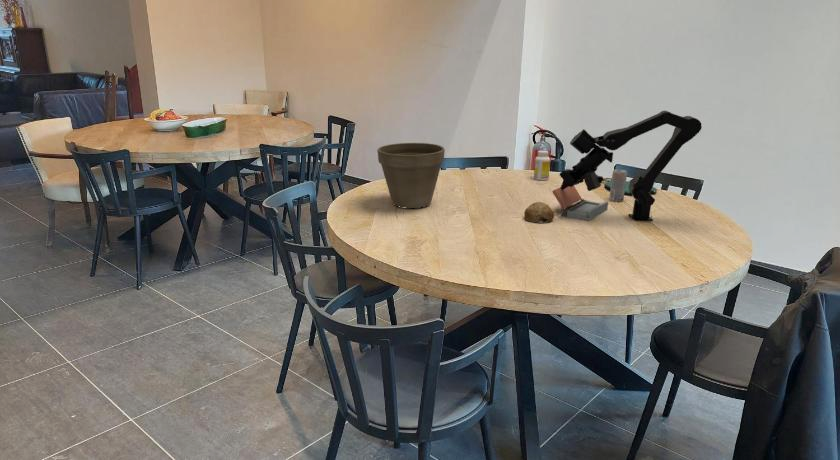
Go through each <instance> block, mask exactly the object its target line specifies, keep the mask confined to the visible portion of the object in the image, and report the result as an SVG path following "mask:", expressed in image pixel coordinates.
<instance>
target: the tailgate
mask: <svg viewBox="0 0 840 460" xmlns="http://www.w3.org/2000/svg"><path fill="white" fill-rule="evenodd" d="M551 192H552V194H553V196H554V197H555V199H556V200H557V202H558V204H559V205H560V207H561V210H562V209H564V208H565V209H566V208H568V207H570V206H572V205H573V204H575V203H577V202H579V201H581V199H583V198H582V196H581V194H580V193H579V192H578V189H576V187H575V186H573V187H567V188H565V189H564V190H562V189H561V186H560V187H558V188H556V189H553V190H552V191H551Z"/></svg>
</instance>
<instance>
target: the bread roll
mask: <svg viewBox="0 0 840 460" xmlns="http://www.w3.org/2000/svg"><path fill="white" fill-rule="evenodd" d="M523 215H524V218H525V220H526V219H527V220H526V221H528V220H529V221H528V222H531V223H534V222H536V224H547V223H551V222H553V220H554V217H555V214H554V211H553V209H552V208H551V207H550V205H549V204H546V203H544V202H540V201H537V202H533V203H532V204H530V205H529V206H528V207H527V208H525V210H524V214H523ZM546 222H547V223H546Z"/></svg>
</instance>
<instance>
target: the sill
mask: <svg viewBox="0 0 840 460" xmlns="http://www.w3.org/2000/svg"><path fill="white" fill-rule="evenodd" d="M586 201H587V200H586V199H585V198H582V199H581V200H580V201H578V202H576V203H574V204H572V205H570V206H568V207H566V208H564V209H562V208H561V216H562V217H567V211H573V210H575V209H577V208H578V207H580V206H582V205H584V204H586ZM567 218H568V217H567Z"/></svg>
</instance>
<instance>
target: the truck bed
mask: <svg viewBox="0 0 840 460" xmlns="http://www.w3.org/2000/svg"><path fill="white" fill-rule="evenodd" d="M608 205H609V201H607V200H605V201H603V202H597V201H590V200H586V204H584V205H582V206H580V207H578V208H577V209H575V210H573V211H567V218H572V219H577V220H582V221H586V222H589V221H591V220H593V219H594V218H596V217H597V216H599V215H601V214H603V213H605V212H606V211H607V210H608V209H609V208H608Z"/></svg>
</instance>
